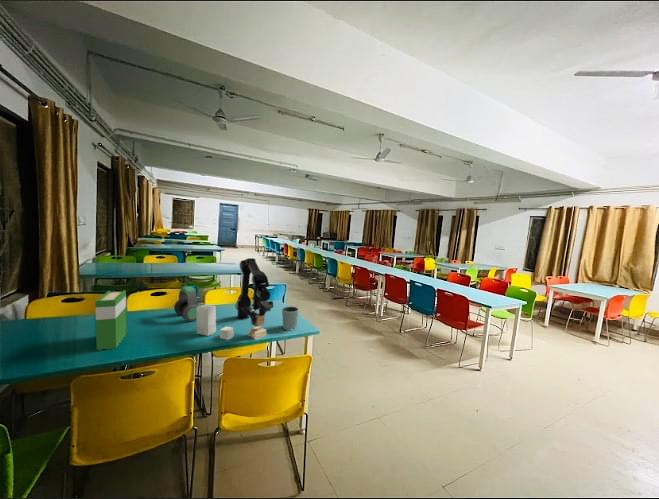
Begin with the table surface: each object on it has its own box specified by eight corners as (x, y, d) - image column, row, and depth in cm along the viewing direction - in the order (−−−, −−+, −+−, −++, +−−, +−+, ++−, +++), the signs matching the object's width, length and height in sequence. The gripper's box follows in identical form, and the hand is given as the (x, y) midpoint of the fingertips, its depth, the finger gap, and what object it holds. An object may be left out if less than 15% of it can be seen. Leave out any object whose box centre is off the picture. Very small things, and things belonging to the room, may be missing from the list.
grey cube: (220, 338, 147) (220, 329, 147) (226, 334, 152) (226, 326, 151) (227, 340, 146) (228, 331, 145) (233, 336, 151) (233, 327, 150)
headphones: (202, 319, 170) (203, 289, 168) (184, 324, 162) (184, 291, 160) (190, 311, 183) (190, 283, 181) (172, 315, 175) (172, 285, 173)
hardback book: (109, 335, 142) (108, 290, 140) (126, 333, 145) (125, 290, 143) (96, 350, 126) (95, 301, 124) (116, 348, 129) (115, 300, 127)
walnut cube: (251, 324, 152) (251, 315, 151) (257, 321, 156) (258, 313, 156) (257, 326, 149) (257, 318, 149) (264, 324, 153) (264, 315, 153)
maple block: (248, 335, 153) (248, 328, 153) (259, 332, 158) (259, 326, 158) (255, 340, 148) (255, 333, 148) (265, 336, 154) (266, 329, 153)
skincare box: (216, 332, 154) (216, 306, 152) (207, 336, 148) (208, 309, 146) (204, 329, 157) (205, 303, 155) (195, 333, 151) (196, 306, 149)
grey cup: (294, 331, 162) (295, 312, 161) (278, 329, 164) (279, 310, 163) (299, 325, 172) (300, 307, 171) (284, 323, 174) (285, 305, 173)
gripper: (256, 302, 139) (255, 331, 140) (280, 295, 154) (279, 321, 156) (241, 298, 145) (240, 326, 146) (266, 291, 160) (265, 316, 162)
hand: (257, 322), depth 153 cm, fingers closed on walnut cube, 5 cm apart
